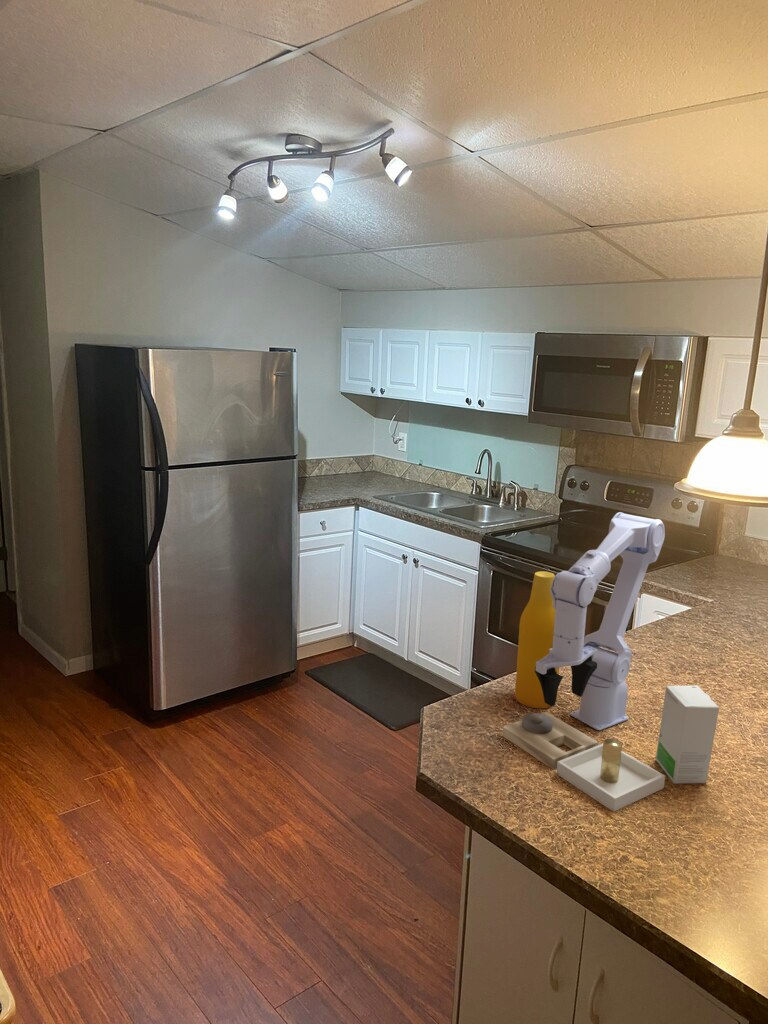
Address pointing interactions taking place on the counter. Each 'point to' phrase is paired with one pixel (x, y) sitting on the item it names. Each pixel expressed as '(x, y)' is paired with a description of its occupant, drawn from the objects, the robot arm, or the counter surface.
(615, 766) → the lock pin
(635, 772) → the tray
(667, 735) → the skincare box
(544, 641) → the beer bottle
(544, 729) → the tensioner bracket
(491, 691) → the counter surface
